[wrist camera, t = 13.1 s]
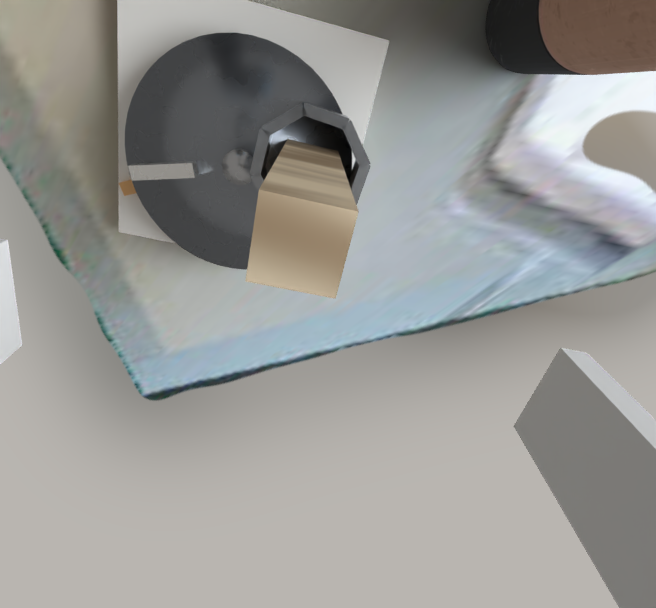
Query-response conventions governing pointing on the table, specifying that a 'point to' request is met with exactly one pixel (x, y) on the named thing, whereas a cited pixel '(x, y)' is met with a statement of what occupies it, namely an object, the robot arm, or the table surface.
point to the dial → (226, 137)
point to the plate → (246, 18)
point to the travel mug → (573, 36)
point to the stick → (303, 222)
